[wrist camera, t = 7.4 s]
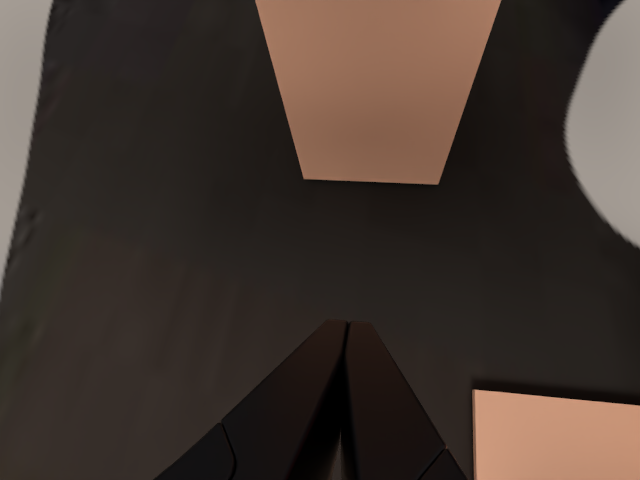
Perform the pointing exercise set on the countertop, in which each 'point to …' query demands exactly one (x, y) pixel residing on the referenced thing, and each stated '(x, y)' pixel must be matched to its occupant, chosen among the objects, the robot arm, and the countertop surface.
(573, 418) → the colour card
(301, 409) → the robot arm
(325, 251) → the countertop surface
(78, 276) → the countertop surface
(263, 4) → the terracotta block
